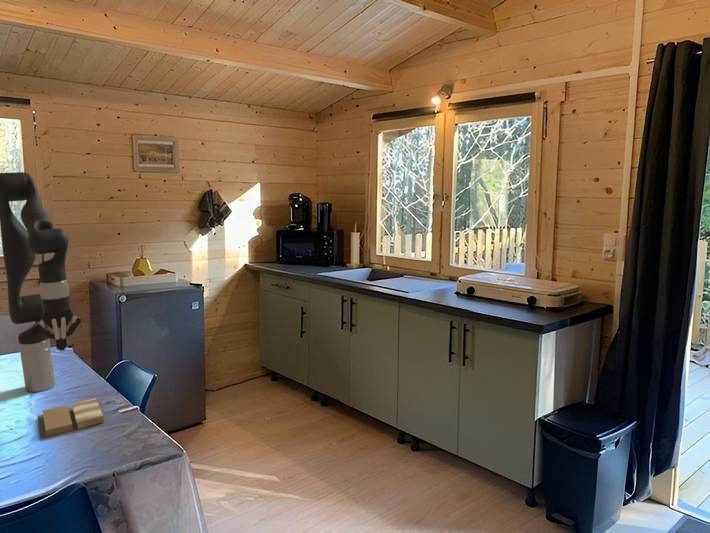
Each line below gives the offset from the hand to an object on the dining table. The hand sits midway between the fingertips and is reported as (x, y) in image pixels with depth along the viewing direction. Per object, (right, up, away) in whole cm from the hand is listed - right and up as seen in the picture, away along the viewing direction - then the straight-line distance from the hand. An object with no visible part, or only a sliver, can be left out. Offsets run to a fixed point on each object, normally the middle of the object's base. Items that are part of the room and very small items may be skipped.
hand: (61, 349), depth 171 cm
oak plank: (+9, -20, -1) cm, 22 cm away
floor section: (+5, -21, -3) cm, 22 cm away
